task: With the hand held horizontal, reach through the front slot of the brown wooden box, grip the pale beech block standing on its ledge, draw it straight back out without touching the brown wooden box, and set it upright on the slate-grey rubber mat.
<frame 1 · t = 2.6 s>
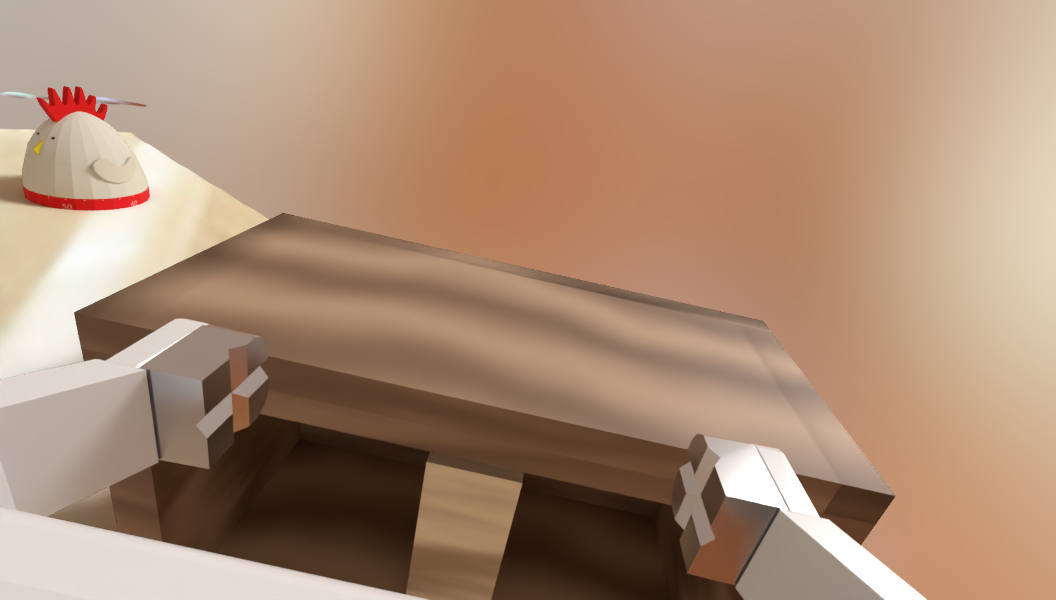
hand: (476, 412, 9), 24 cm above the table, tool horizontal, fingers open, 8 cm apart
beech block: (454, 571, 29), point 3 cm above the table, touching brown wooden box
brown wooden box: (454, 575, 32), on the table
kitchen timer: (91, 196, 74), on the table
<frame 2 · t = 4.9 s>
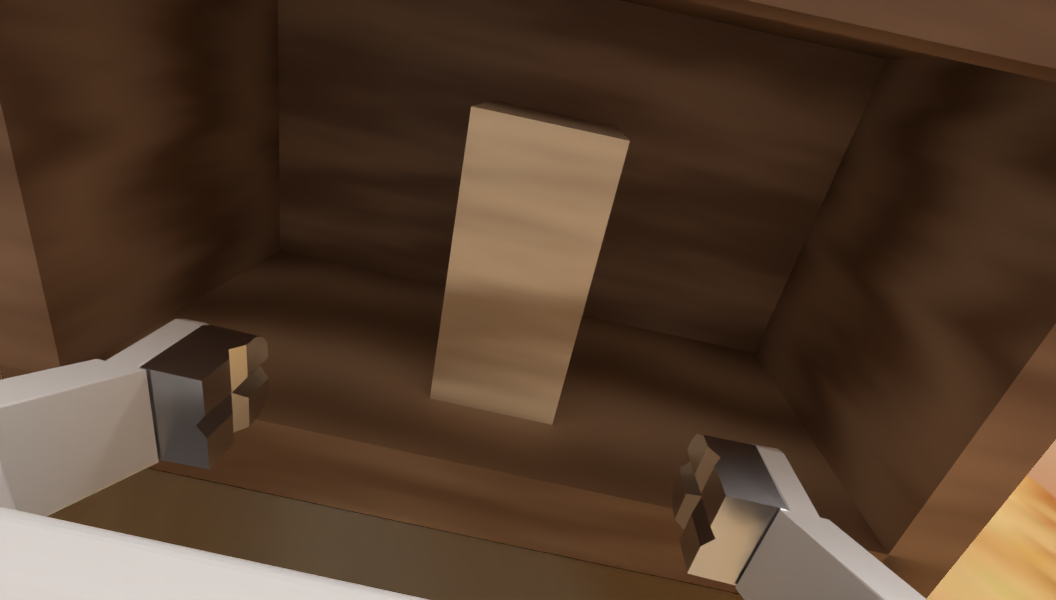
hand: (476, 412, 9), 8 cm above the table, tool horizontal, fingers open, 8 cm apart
beech block: (499, 377, 20), point 3 cm above the table, touching brown wooden box
brown wooden box: (494, 408, 23), on the table
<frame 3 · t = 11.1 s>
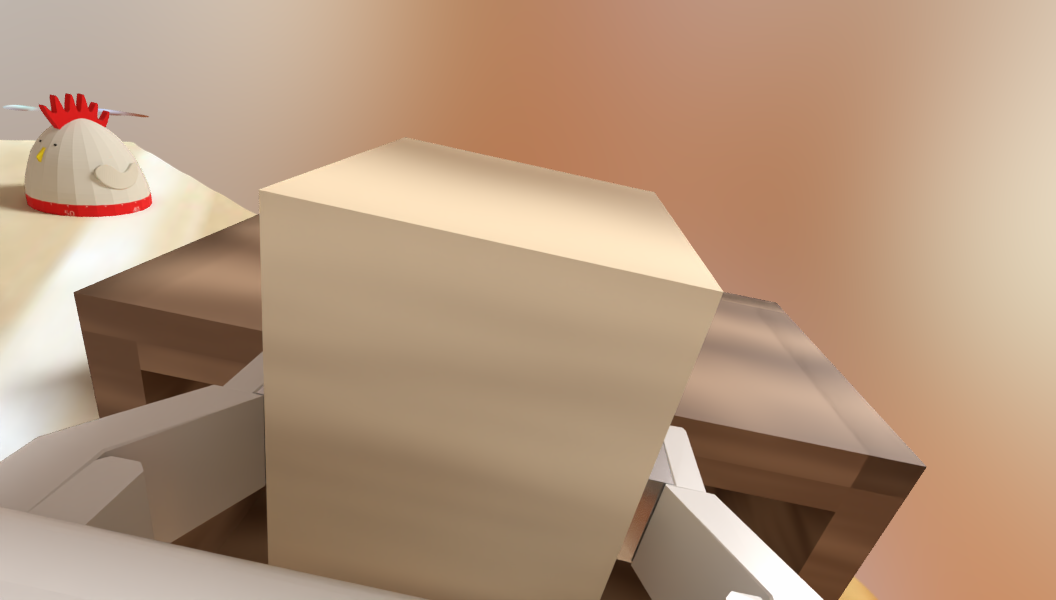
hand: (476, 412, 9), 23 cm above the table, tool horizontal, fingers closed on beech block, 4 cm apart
brown wooden box: (466, 570, 31), on the table
kitchen timer: (93, 203, 74), on the table
when the fingers open (7 cm above the table, at t = 15.1 s): beech block drops 1 cm, resting on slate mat.
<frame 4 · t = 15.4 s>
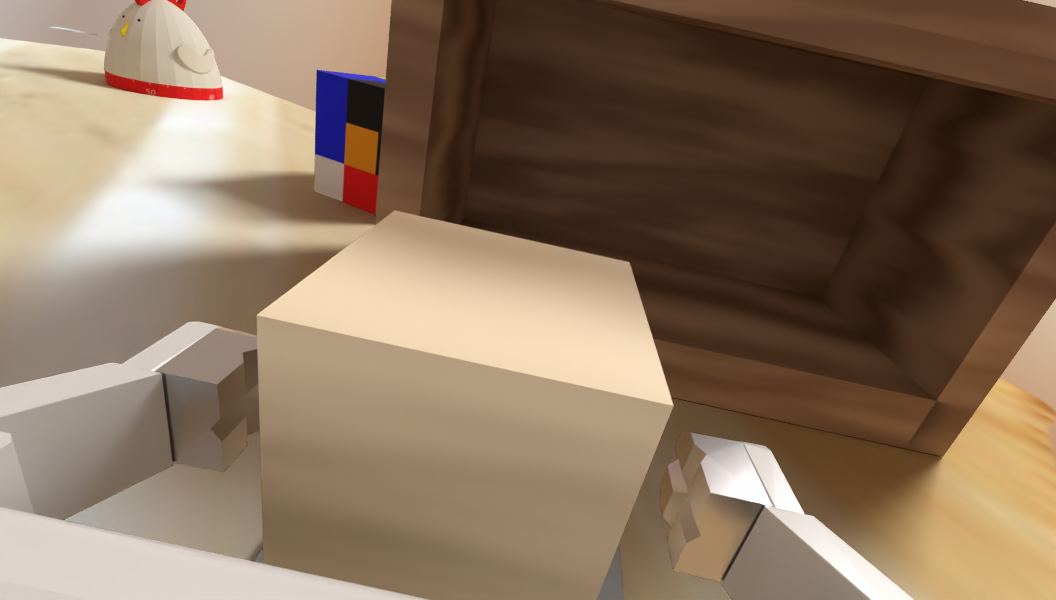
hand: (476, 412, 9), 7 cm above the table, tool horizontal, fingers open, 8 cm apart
puzzle toy: (396, 202, 47), on the table
brown wooden box: (639, 330, 32), on the table
kitchen timer: (167, 91, 74), on the table
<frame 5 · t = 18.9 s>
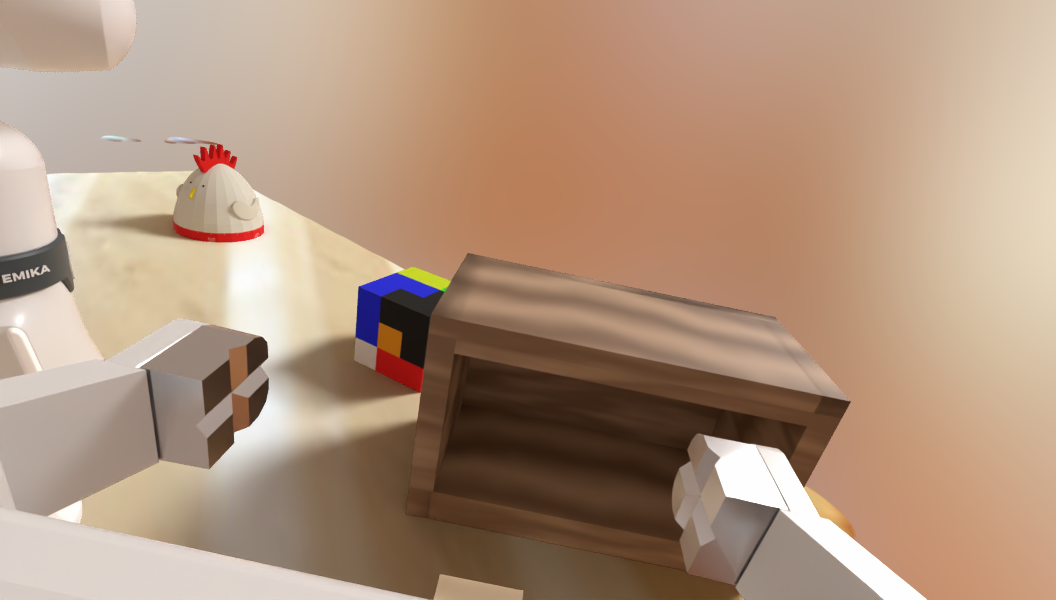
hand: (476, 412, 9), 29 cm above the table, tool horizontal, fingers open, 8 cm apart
puzzle toy: (412, 361, 64), on the table
brown wooden box: (577, 488, 49), on the table
kitchen timer: (220, 230, 91), on the table
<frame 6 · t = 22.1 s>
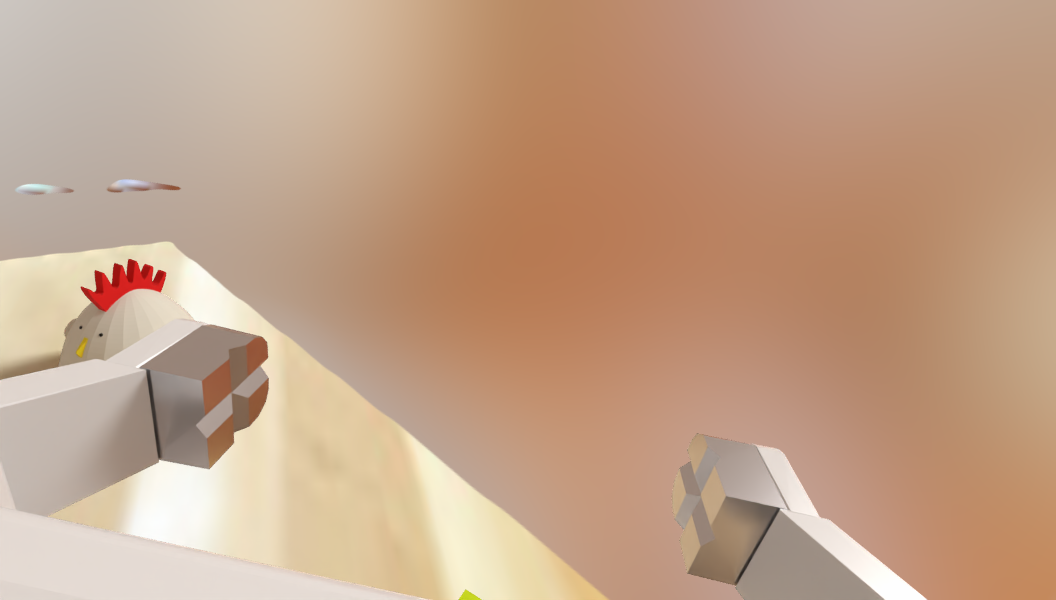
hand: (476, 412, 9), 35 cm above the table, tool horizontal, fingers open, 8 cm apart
kitchen timer: (142, 383, 58), on the table
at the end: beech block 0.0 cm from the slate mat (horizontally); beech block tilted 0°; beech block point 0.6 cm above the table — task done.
